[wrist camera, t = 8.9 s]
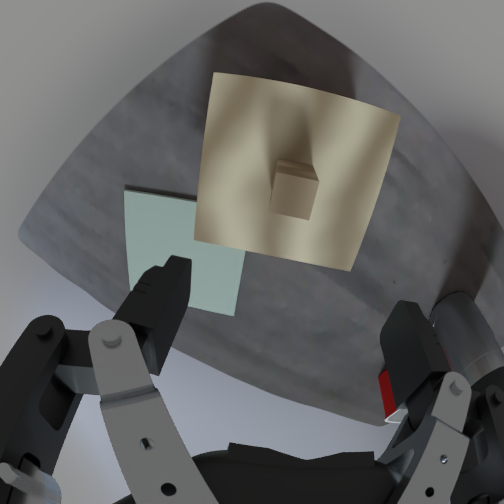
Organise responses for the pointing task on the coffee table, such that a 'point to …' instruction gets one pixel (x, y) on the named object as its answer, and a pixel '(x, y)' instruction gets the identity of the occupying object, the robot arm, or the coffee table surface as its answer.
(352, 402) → the coffee table surface
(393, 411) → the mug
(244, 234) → the lid
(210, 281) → the mat
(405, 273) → the coffee table surface
